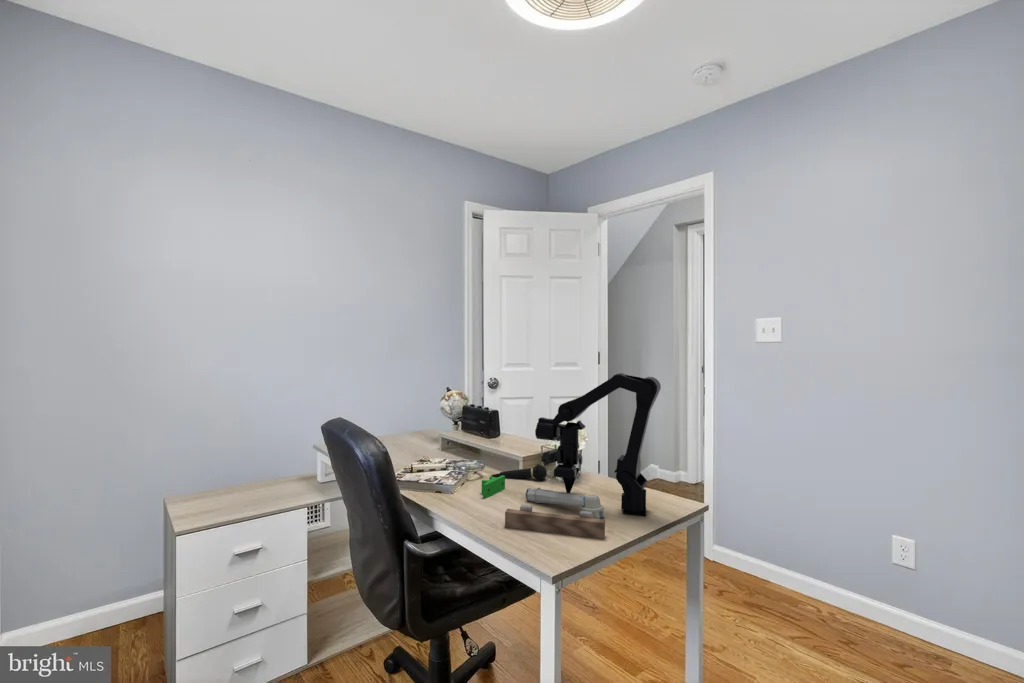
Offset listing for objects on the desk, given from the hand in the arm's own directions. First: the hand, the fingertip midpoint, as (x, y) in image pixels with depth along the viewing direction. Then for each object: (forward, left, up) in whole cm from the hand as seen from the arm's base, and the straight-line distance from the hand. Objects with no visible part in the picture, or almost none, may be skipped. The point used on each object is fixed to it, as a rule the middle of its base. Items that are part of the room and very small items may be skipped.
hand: (568, 492), depth 149 cm
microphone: (+20, -18, -3) cm, 27 cm away
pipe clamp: (+25, 0, -3) cm, 25 cm away
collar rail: (0, +24, -2) cm, 24 cm away
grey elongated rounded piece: (0, +7, -3) cm, 8 cm away
